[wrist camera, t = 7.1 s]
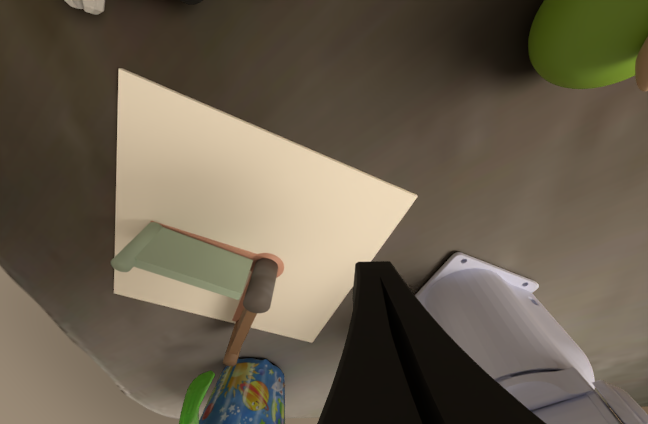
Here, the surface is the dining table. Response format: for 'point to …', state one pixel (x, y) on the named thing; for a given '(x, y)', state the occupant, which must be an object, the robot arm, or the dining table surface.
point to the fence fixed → (252, 305)
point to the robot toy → (103, 5)
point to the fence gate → (185, 261)
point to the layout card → (244, 207)
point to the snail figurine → (590, 42)
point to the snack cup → (238, 395)
